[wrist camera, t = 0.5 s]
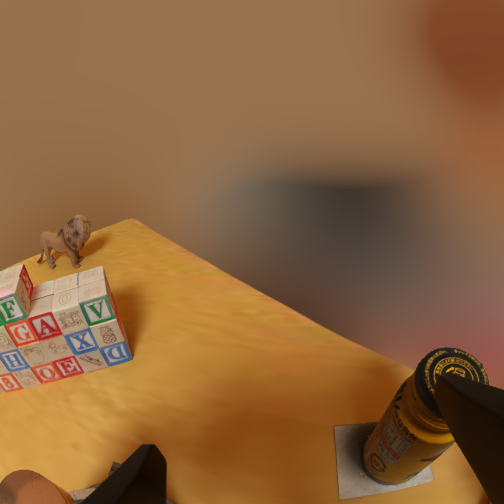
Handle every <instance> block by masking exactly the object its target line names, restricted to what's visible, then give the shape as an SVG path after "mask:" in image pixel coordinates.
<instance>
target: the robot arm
mask: <svg viewBox="0 0 504 504" xmlns="http://www.w3.org/2000/svg"><path fill="white" fill-rule="evenodd" d="M434 398H435V401H436V403H437V405H438V407H439V409H440V411H441V413H442V416H443V418H444V420H445V422H446V424H447V426H448V428H449V430H450V432H451V434H452V436H453V438H454V440H455V441H456V443H457V444H458V446H459V448H460V449H461V451H462V453H463V454H464V456H465V458H466V459H467V461H468V463H469V464H470V466H471V468H472V469H473V471H474V473H475V474H476V476H477V478H478V480H479V481H480V483H481V485H482V487H483V488H484V490H485V492H486V494H487V496H488V497H489V499H490V501H491V503H492V504H504V390H502V389H499V388H496V387H493V386H489V385H487V384H484V383H481V382H478V381H475V380H472V379H469V378H466V377H463V376H460V375H457V374H454V373H452V372H445V373H443V374H441V375H439V376H438V377H437V379H436V385H435V392H434ZM166 476H167V463H166V460H165V458H164V456H163V455H162V454H161V452H160V451H159V449H158V448H157V447H156V445H154V444H142V445H141V446H140V447H139V448H138V449H137V450H136V451H135V452H134V453H133V454H132V455H131V456H130V457H129V458H128V459H127V460H126V461H125V462H124V463H122V464H121V465H120V466H119V467H118V468H117V469H116V470H115V471H114V472H113V473H112V474H111V475H110V476H109V477H108V478H107V479H106V480H105V481H104V482H102V483H101V484H100V485H99V486H98V487H97V488H96V489H95V490H94V491H93V492H92V493H91V494H89V495H88V496H87V497H86V498H85V499H84V500H83V501H82V502H81V503H80V504H166Z"/></svg>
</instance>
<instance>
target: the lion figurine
mask: <svg viewBox="0 0 504 504" xmlns="http://www.w3.org/2000/svg"><path fill="white" fill-rule="evenodd" d="M90 227H91V223H90V221H87V219H86V218H84V216H82V215H76V216H75V217H73V218H72V219H71V220H70V221H69V222H68V223H67V224H66V225H65V226H64V227H62V229H61V230H60V232H59V233H53V232H51V231H46V232H43V233H42V234H41V237H40V244H41V258H40V259H39V260H38V262H37V263H41V261H42V259H43V250H44V252H45V254H46V259H47V262H48V264H49V267H50V268H51V269H53V268H54V267H55V264H53V263H52V262H51V260H53V256H50V252H51V250H52V249H54V250H55V251H58V252H67V253H68V255H69V258H70V260H71V262H72V265H73V267H74V268H75V269H77V268H79V267H80V264H78V262H77V261H82V260H83V256H79V250H81V249H82V248H83V247H84V243H85V242H86V241H87V240H88V239H89V237H90V233H91V230H90ZM75 258H76V259H75ZM76 260H77V261H76Z"/></svg>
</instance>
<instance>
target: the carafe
mask: <svg viewBox="0 0 504 504" xmlns="http://www.w3.org/2000/svg"><path fill="white" fill-rule="evenodd" d="M120 465H121V464H118V463H115V462H113V464H112V467H111V470H110V473H109V476H110V475H111V474H112V473H113V472H114V471H115V470H116V469H117V468H118V467H119V466H120ZM109 476H108V477H109ZM95 489H96V488H90V489H82V490H73V492H72V491H71V492H69V494H70V495H71V496H72V497H73V499H74V500H75V501H76V503H77V504H80V503H81V502H82V501H83V500H84V499H85V498H86V497H87V496H88V495H89V494H91V493H92V492H93V491H94V490H95Z"/></svg>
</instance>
